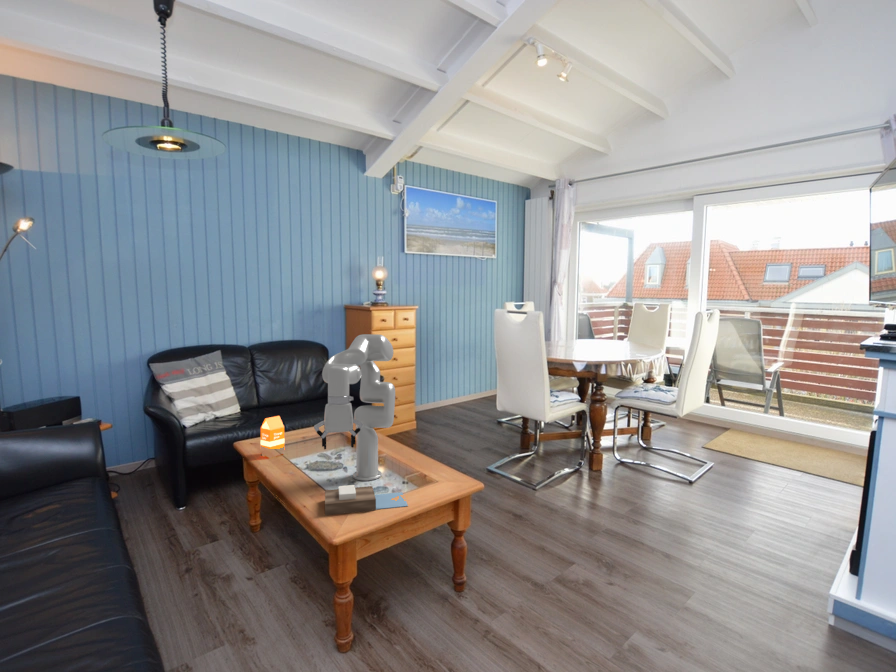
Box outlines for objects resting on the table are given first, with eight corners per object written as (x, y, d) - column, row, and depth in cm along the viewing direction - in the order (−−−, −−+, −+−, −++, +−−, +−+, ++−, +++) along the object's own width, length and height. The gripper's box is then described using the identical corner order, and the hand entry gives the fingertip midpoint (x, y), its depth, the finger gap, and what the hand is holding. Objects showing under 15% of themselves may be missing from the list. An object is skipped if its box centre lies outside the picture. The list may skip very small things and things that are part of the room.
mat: (372, 495, 181) (372, 494, 181) (402, 492, 184) (402, 492, 184) (375, 509, 167) (375, 508, 167) (407, 506, 170) (407, 505, 170)
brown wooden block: (325, 500, 176) (325, 490, 176) (372, 496, 180) (372, 486, 180) (325, 515, 162) (324, 504, 162) (375, 510, 167) (375, 499, 167)
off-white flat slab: (338, 491, 175) (338, 486, 175) (354, 489, 176) (354, 484, 176) (339, 500, 166) (339, 494, 166) (356, 498, 167) (356, 493, 167)
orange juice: (284, 454, 237) (284, 416, 236) (270, 458, 229) (269, 419, 228) (275, 452, 241) (274, 414, 240) (260, 456, 233) (260, 417, 233)
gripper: (361, 397, 171) (361, 443, 171) (313, 399, 166) (313, 446, 166) (364, 401, 164) (364, 448, 164) (313, 403, 159) (314, 452, 159)
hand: (338, 447), depth 165 cm, fingers open, 9 cm apart
